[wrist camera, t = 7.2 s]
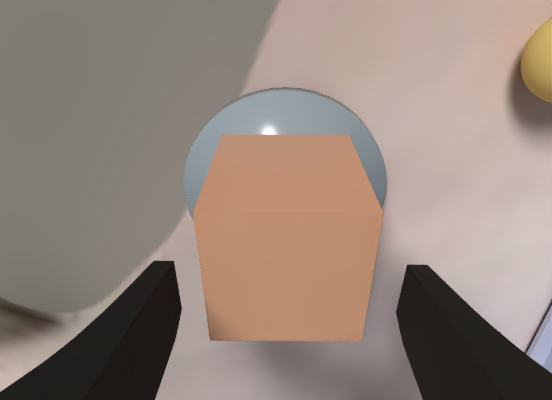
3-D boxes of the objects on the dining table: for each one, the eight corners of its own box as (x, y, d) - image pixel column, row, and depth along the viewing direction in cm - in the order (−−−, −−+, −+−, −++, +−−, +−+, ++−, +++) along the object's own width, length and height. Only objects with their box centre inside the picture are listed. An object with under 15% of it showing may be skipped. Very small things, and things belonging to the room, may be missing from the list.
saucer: (368, 261, 20) (371, 271, 19) (197, 259, 20) (194, 269, 19) (397, 88, 15) (402, 93, 15) (175, 86, 15) (170, 91, 15)
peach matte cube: (338, 237, 18) (361, 341, 13) (230, 237, 18) (209, 340, 13) (348, 134, 15) (383, 213, 10) (222, 134, 15) (193, 212, 10)
